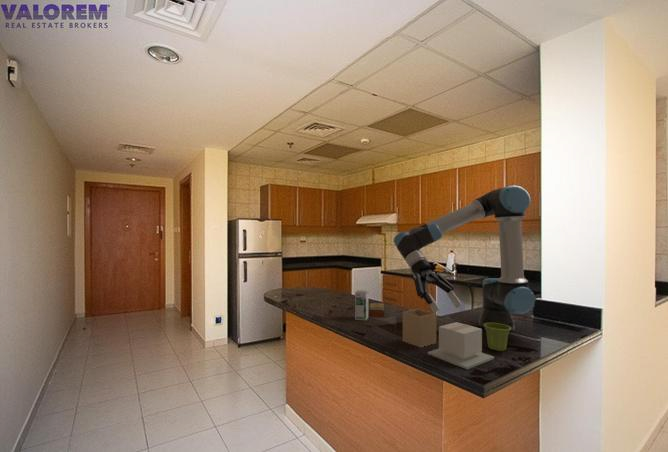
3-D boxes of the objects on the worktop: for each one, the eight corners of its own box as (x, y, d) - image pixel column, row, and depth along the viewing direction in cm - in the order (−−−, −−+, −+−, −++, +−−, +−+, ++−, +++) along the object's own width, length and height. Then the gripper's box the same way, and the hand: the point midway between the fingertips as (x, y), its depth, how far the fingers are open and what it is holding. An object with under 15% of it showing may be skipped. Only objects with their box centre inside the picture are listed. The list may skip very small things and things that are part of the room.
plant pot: (502, 344, 129) (502, 322, 129) (516, 353, 120) (516, 329, 120) (479, 344, 129) (479, 322, 129) (491, 353, 120) (491, 329, 120)
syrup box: (354, 319, 164) (354, 291, 164) (358, 317, 170) (358, 289, 170) (365, 321, 162) (365, 292, 162) (368, 318, 168) (368, 290, 168)
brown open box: (418, 337, 138) (418, 308, 138) (436, 343, 130) (436, 313, 130) (402, 341, 132) (402, 311, 133) (420, 347, 125) (420, 316, 125)
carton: (383, 310, 186) (383, 303, 186) (384, 318, 170) (384, 309, 170) (369, 310, 187) (369, 302, 187) (368, 317, 171) (368, 309, 171)
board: (454, 345, 127) (454, 343, 127) (494, 358, 114) (494, 356, 114) (427, 354, 118) (427, 351, 118) (467, 369, 105) (467, 367, 105)
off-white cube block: (456, 347, 124) (456, 321, 124) (482, 355, 115) (481, 328, 115) (438, 352, 118) (438, 326, 118) (464, 362, 109) (464, 333, 109)
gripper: (432, 267, 143) (461, 309, 130) (391, 271, 128) (420, 318, 116) (442, 257, 138) (474, 299, 126) (402, 259, 124) (433, 307, 112)
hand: (448, 308), depth 121 cm, fingers open, 13 cm apart
